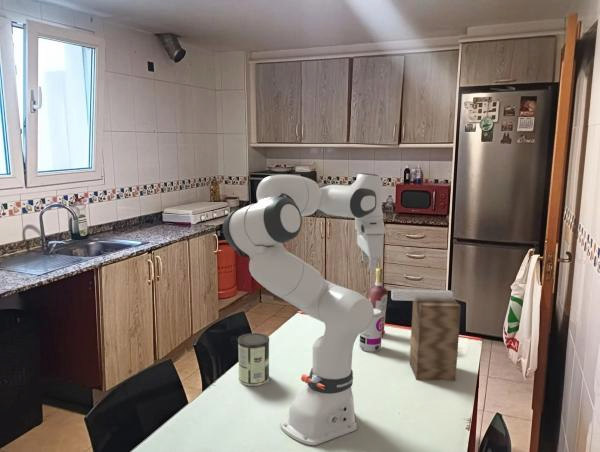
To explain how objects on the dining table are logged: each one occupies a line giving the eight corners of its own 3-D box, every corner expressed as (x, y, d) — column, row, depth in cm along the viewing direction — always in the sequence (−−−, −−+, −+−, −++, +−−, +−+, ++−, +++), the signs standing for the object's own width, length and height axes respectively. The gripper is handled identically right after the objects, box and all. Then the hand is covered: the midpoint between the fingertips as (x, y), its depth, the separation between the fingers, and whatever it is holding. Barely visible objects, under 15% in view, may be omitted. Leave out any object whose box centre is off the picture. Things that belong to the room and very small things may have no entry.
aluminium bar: (392, 300, 167) (392, 291, 167) (391, 297, 170) (391, 289, 170) (452, 301, 167) (453, 293, 166) (449, 298, 170) (450, 290, 169)
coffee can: (254, 369, 173) (254, 330, 170) (275, 378, 166) (275, 338, 164) (231, 378, 165) (231, 338, 163) (252, 389, 158) (252, 347, 156)
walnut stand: (416, 379, 167) (420, 305, 163) (409, 363, 179) (413, 294, 174) (455, 380, 167) (460, 306, 162) (446, 364, 178) (450, 295, 174)
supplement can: (384, 347, 193) (385, 310, 191) (375, 354, 186) (377, 316, 184) (365, 342, 197) (366, 306, 195) (355, 349, 191) (357, 311, 188)
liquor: (377, 339, 201) (380, 271, 196) (363, 334, 206) (366, 268, 201) (389, 335, 205) (392, 269, 201) (375, 329, 211) (378, 265, 206)
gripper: (352, 218, 170) (352, 257, 172) (366, 230, 150) (366, 274, 152) (370, 217, 170) (370, 257, 173) (386, 229, 150) (386, 273, 153)
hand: (368, 265), depth 162 cm, fingers open, 8 cm apart
